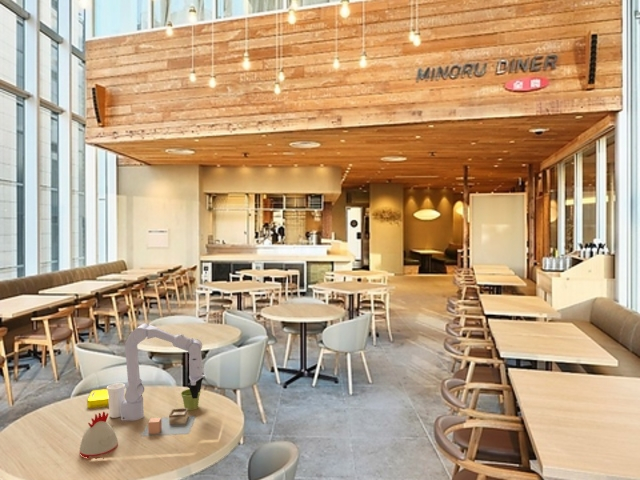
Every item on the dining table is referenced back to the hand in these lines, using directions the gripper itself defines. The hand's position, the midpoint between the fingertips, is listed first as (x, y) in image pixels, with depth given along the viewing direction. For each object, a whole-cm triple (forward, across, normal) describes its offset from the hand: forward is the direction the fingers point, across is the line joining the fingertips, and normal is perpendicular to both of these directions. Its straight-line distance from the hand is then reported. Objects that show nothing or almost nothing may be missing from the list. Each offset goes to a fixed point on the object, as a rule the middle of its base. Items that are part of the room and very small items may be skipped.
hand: (196, 395), depth 218 cm
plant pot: (+10, +8, +4) cm, 14 cm away
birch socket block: (+9, -6, +7) cm, 13 cm away
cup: (+10, +5, +38) cm, 40 cm away
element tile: (+11, +24, +50) cm, 57 cm away
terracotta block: (+9, -16, +15) cm, 24 cm away
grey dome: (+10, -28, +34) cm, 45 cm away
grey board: (+10, -11, +10) cm, 18 cm away
